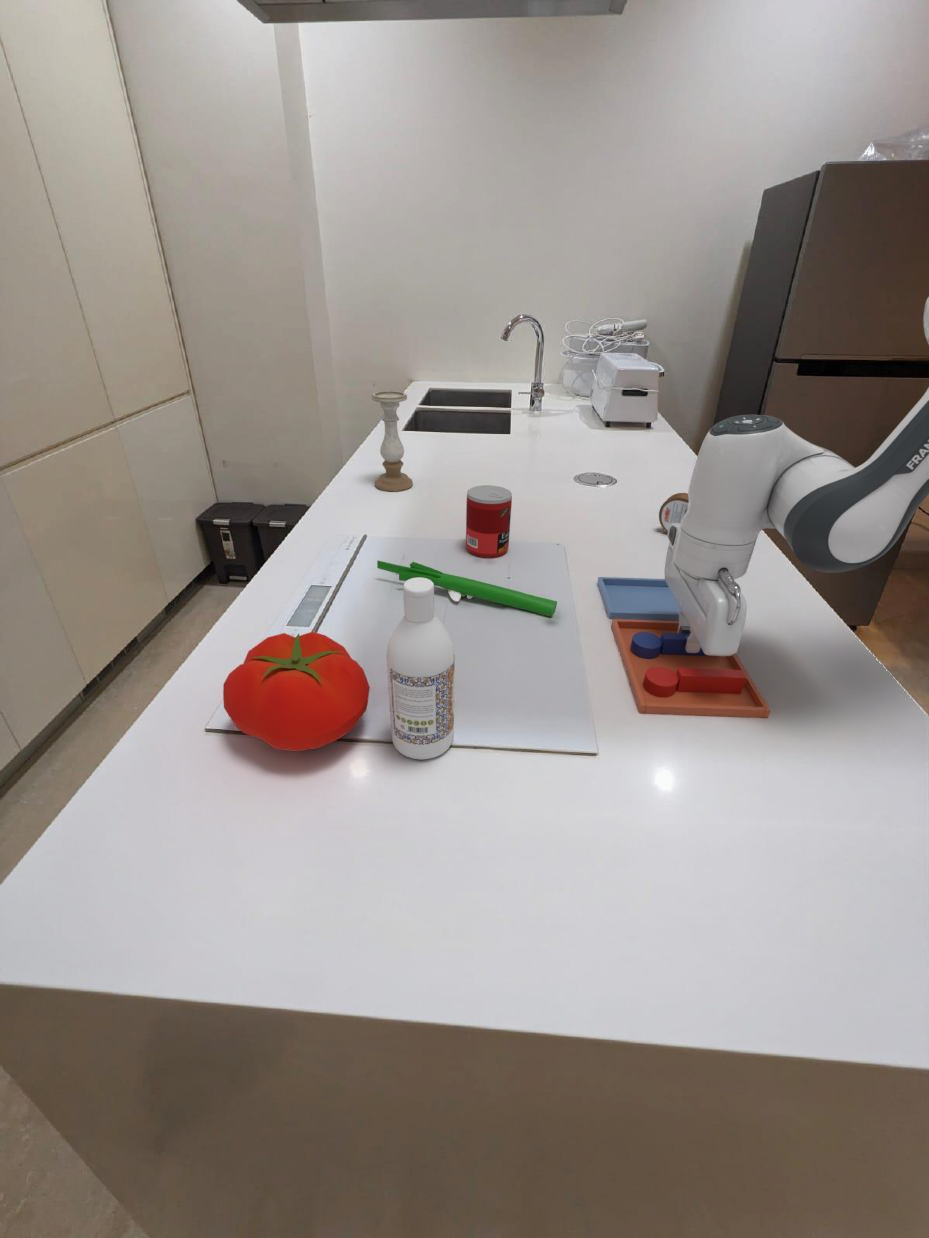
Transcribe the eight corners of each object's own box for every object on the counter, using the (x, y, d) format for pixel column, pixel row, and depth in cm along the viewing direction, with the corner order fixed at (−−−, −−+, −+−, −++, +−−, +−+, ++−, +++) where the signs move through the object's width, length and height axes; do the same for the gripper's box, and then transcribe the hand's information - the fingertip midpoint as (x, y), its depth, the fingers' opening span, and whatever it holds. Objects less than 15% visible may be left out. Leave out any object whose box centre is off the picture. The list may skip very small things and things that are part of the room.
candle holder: (420, 485, 136) (418, 394, 125) (391, 494, 131) (386, 400, 120) (395, 476, 141) (391, 388, 130) (367, 485, 136) (360, 394, 125)
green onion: (555, 613, 90) (384, 569, 98) (558, 596, 88) (384, 551, 97) (547, 630, 86) (370, 582, 95) (550, 611, 84) (369, 564, 93)
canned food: (506, 560, 104) (510, 501, 98) (462, 556, 105) (463, 498, 99) (510, 542, 110) (514, 486, 104) (468, 539, 111) (470, 483, 105)
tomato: (316, 792, 59) (304, 718, 53) (205, 734, 65) (184, 664, 60) (397, 710, 69) (393, 642, 64) (295, 668, 76) (284, 603, 71)
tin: (735, 548, 109) (747, 506, 105) (729, 554, 107) (742, 511, 103) (659, 527, 117) (668, 487, 113) (653, 532, 115) (661, 491, 111)
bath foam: (460, 755, 63) (463, 598, 53) (397, 767, 62) (387, 606, 51) (446, 714, 69) (446, 564, 58) (388, 723, 67) (377, 571, 57)
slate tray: (688, 588, 96) (690, 579, 95) (710, 624, 87) (713, 615, 86) (596, 585, 97) (598, 576, 96) (608, 621, 87) (610, 612, 86)
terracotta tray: (714, 631, 85) (717, 622, 84) (766, 720, 69) (770, 710, 68) (610, 627, 86) (612, 618, 85) (638, 715, 69) (641, 705, 68)
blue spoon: (713, 644, 82) (717, 629, 80) (722, 661, 78) (727, 646, 77) (627, 641, 82) (630, 626, 80) (633, 658, 78) (636, 642, 77)
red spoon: (733, 680, 75) (738, 664, 73) (744, 700, 71) (750, 683, 70) (639, 676, 75) (643, 660, 74) (646, 696, 72) (650, 680, 70)
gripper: (772, 594, 63) (738, 693, 70) (711, 521, 80) (689, 606, 88) (713, 592, 63) (685, 691, 71) (665, 519, 80) (647, 605, 88)
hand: (687, 643), depth 79 cm, fingers closed on blue spoon
